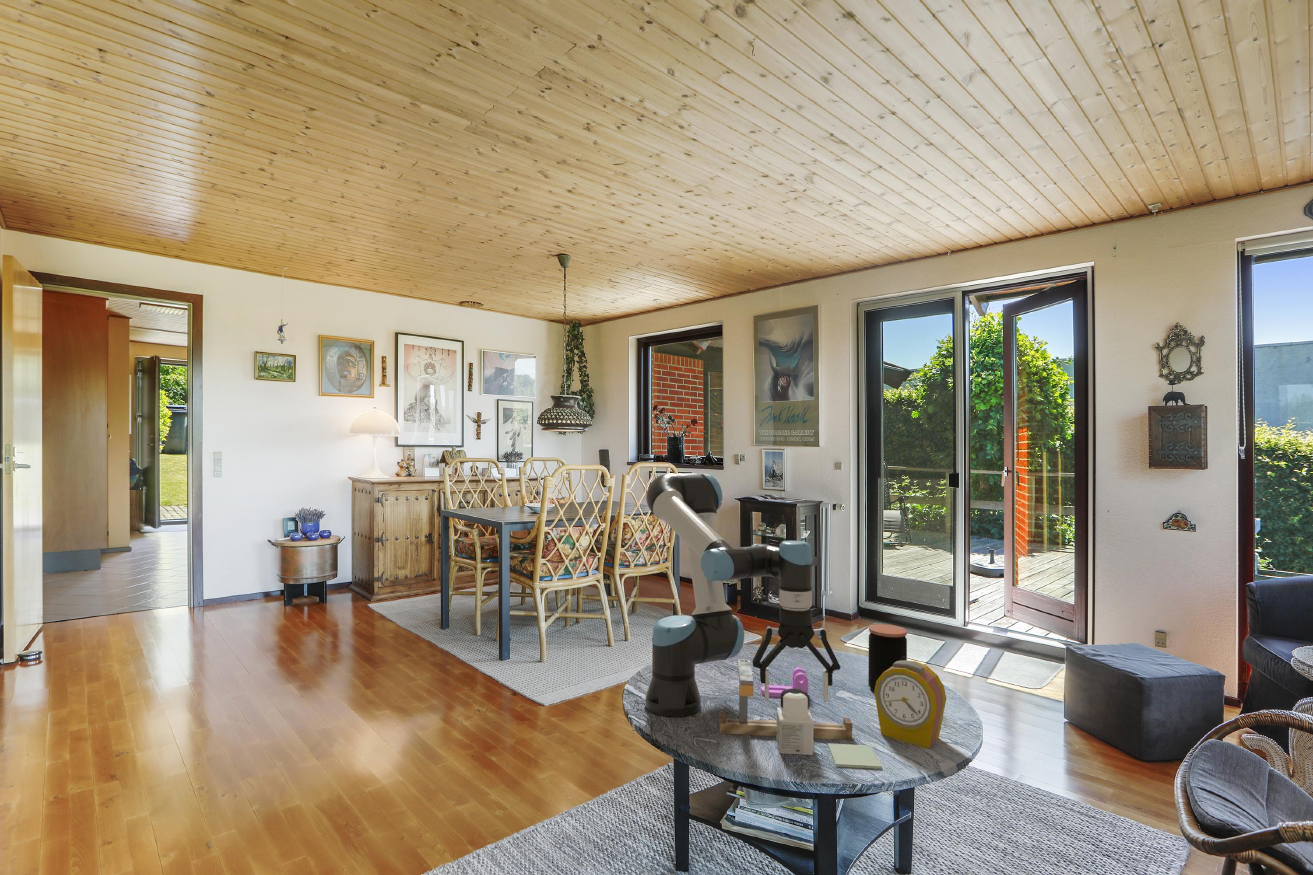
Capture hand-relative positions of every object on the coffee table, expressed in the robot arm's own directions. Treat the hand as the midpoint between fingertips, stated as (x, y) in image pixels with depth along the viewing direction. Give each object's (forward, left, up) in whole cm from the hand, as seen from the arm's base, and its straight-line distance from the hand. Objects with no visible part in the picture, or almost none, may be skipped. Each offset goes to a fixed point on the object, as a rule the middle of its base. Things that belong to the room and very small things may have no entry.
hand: (795, 698), depth 150 cm
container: (0, 0, -12) cm, 12 cm away
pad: (+13, -3, -12) cm, 18 cm away
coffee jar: (+32, +40, -12) cm, 53 cm away
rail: (-2, +7, -12) cm, 14 cm away
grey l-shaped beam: (-12, +1, -9) cm, 15 cm away
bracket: (+1, +34, -12) cm, 36 cm away
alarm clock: (+29, +9, -12) cm, 32 cm away
